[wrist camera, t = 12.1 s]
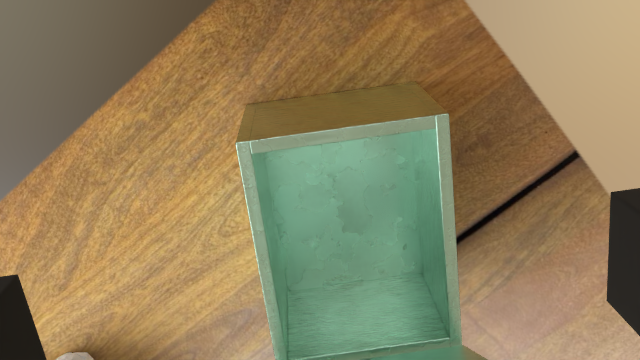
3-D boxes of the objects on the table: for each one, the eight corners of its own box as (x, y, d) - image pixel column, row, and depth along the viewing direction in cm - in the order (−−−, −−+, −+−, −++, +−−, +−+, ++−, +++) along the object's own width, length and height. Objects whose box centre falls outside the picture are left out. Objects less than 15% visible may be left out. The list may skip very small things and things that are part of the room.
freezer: (246, 104, 49) (235, 142, 39) (415, 81, 49) (449, 113, 39) (279, 295, 55) (277, 372, 45) (430, 274, 56) (462, 346, 45)
